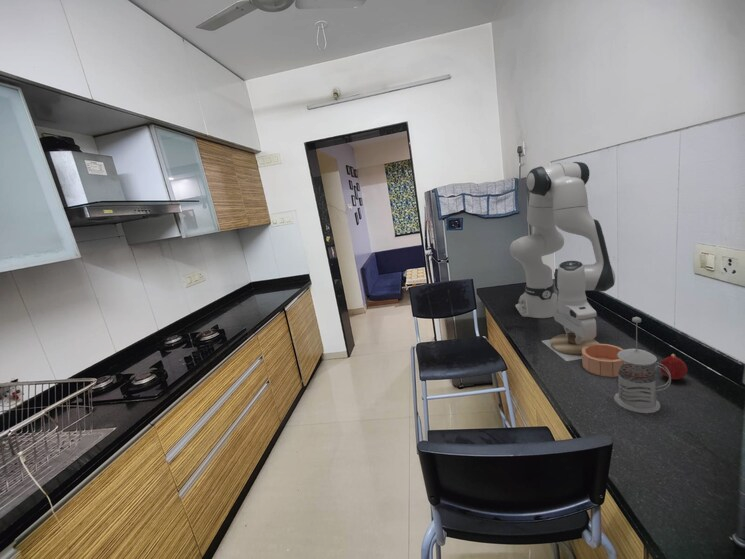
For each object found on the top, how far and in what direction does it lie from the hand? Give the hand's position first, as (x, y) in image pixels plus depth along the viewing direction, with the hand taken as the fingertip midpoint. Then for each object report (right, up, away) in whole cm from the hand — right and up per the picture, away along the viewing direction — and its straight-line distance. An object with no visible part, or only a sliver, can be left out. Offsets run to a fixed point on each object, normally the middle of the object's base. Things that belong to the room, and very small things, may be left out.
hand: (573, 340), depth 117 cm
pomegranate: (+13, -7, -26) cm, 29 cm away
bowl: (+1, -6, -14) cm, 16 cm away
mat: (+1, -3, 0) cm, 3 cm away
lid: (0, -2, 0) cm, 2 cm away
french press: (-2, -11, -32) cm, 34 cm away
